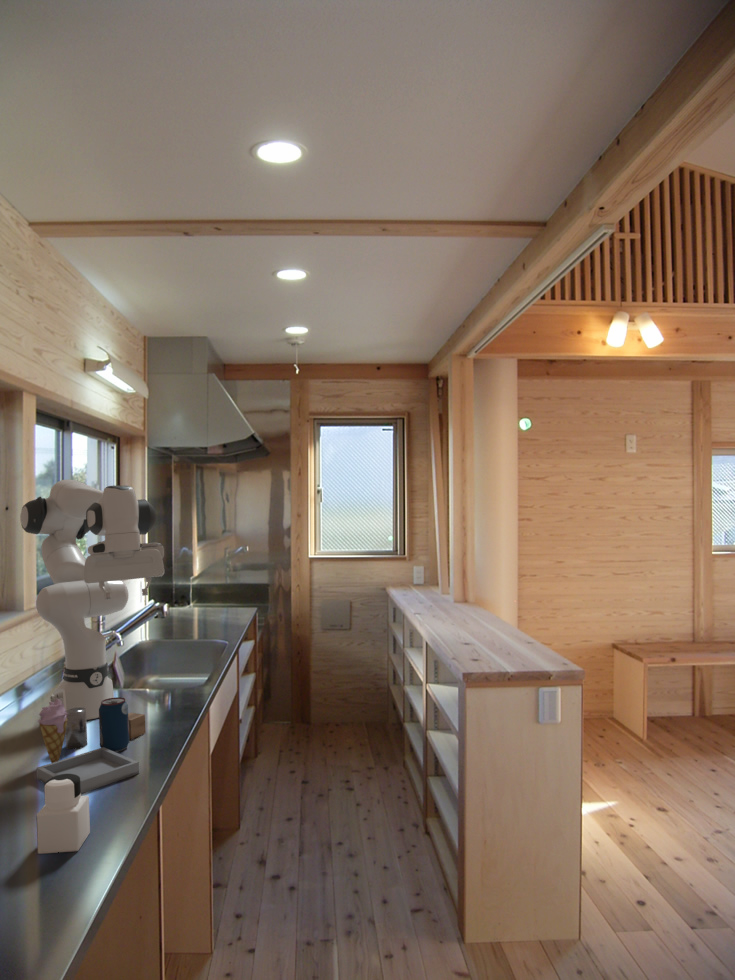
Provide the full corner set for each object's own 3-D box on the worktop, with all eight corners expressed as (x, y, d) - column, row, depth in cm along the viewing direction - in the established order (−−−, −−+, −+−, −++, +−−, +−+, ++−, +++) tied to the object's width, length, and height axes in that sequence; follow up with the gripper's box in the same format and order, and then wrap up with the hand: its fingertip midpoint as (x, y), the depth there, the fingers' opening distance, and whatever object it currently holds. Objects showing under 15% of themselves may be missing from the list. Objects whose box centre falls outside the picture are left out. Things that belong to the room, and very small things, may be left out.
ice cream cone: (76, 760, 173) (74, 697, 173) (57, 770, 167) (55, 705, 167) (54, 757, 175) (52, 696, 175) (34, 767, 169) (32, 703, 169)
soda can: (135, 745, 181) (133, 697, 182) (115, 754, 175) (113, 705, 175) (114, 742, 184) (113, 695, 184) (93, 751, 178) (92, 703, 178)
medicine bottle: (51, 835, 134) (49, 771, 134) (90, 832, 134) (88, 768, 135) (37, 854, 127) (34, 787, 127) (78, 851, 127) (76, 784, 127)
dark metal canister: (62, 746, 183) (61, 711, 183) (81, 741, 186) (80, 706, 186) (71, 750, 179) (70, 714, 179) (90, 745, 183) (89, 709, 183)
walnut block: (117, 737, 189) (116, 718, 189) (131, 731, 193) (131, 712, 193) (131, 739, 186) (130, 720, 186) (145, 733, 191) (144, 714, 191)
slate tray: (36, 779, 162) (36, 767, 162) (104, 757, 173) (103, 747, 173) (70, 797, 151) (69, 785, 151) (138, 773, 163) (138, 762, 163)
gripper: (163, 542, 197) (167, 592, 196) (83, 548, 191) (86, 601, 190) (163, 541, 191) (167, 593, 190) (81, 548, 185) (84, 602, 184)
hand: (126, 597), depth 190 cm, fingers open, 8 cm apart
